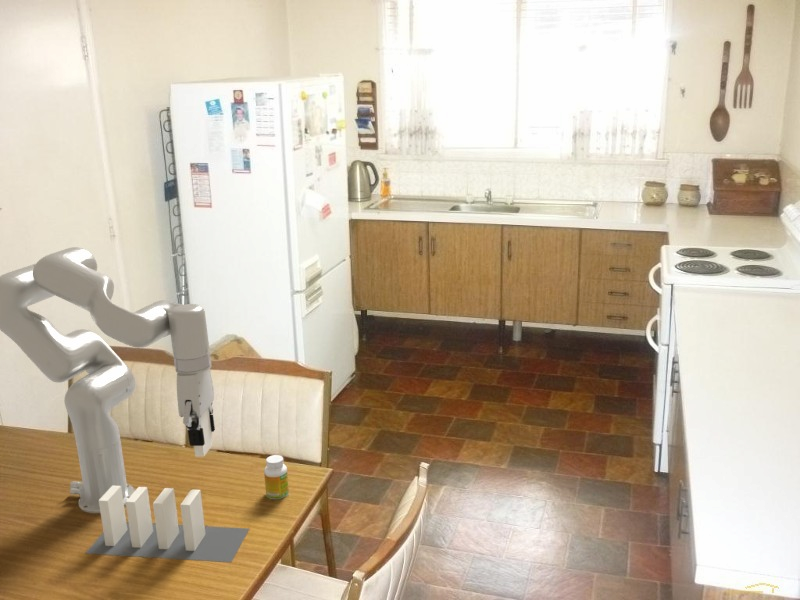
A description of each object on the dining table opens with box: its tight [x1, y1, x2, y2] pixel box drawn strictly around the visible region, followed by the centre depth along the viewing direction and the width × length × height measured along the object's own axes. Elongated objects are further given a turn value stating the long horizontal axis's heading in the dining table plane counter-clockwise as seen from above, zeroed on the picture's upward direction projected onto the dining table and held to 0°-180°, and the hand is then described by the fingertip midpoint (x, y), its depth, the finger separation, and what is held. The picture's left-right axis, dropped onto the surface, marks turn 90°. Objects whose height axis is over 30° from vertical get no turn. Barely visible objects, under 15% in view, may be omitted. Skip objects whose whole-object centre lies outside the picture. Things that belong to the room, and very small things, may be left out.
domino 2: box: [125, 486, 153, 548], centre depth 163 cm, size 2×6×11 cm, turn 173°
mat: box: [85, 521, 250, 563], centre depth 164 cm, size 32×12×1 cm, turn 83°
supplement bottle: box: [263, 454, 290, 500], centre depth 181 cm, size 5×5×10 cm
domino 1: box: [99, 485, 127, 546], centre depth 164 cm, size 2×6×11 cm, turn 173°
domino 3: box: [152, 487, 179, 549], centre depth 163 cm, size 2×6×11 cm, turn 173°
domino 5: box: [180, 489, 205, 551], centre depth 162 cm, size 2×6×11 cm, turn 173°
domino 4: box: [191, 409, 214, 458], centre depth 167 cm, size 2×6×11 cm, turn 174°
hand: (202, 437), depth 168 cm, fingers closed on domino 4, 5 cm apart
